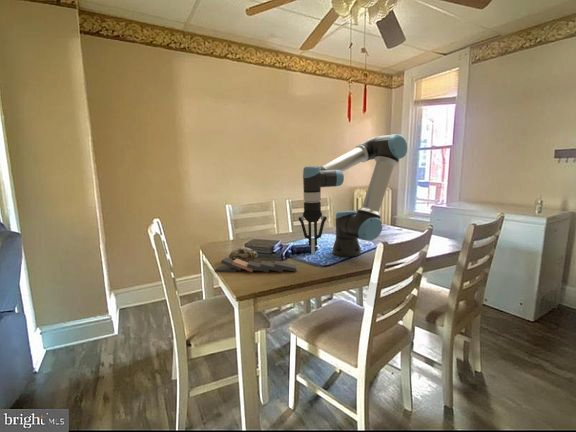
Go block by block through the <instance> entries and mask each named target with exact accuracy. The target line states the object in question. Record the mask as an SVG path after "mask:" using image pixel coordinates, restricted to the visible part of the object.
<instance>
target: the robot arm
mask: <svg viewBox="0 0 576 432" xmlns="http://www.w3.org/2000/svg"><path fill="white" fill-rule="evenodd" d="M408 150H409V149H408V142H407V140H406V138H405V137H404V136H403V135H401V134H400V133H398V134H397V133H396V134H388V135H387V134H386V135H379V136H373V137H371V138H369V139H367V140H365V141H364V142H361V143H359V144H358V145H356V146H355V148H354V149H352V150H350V151H348V152H346V153H344V154H342V155H340V156H338V157H336V158H334V159H332V160H330V161H328V162H327V163H324V164H323V165H320V166H316V165H315V166H311V165H310V166H305V167H303V170H302V172H303V173H302V178H303V179H302V181H303V183H302V184H303V201H304V202H303V213H302V215H301V216H298V219H297V220H298V221H299V222H300V225H301V229H302V232H303V235H304V239H308V246H309V247H311V249H310V251H311V255H313V254H315V253H316V249H315V248H316V247H317V246H318V240H319V239H320V238H322V234H323V230H324V226H325V222H326V221H327V216H325V215H323V213H322V211H321V210H322V207H321V206H322V204H321V203H322V202H321V200H322V199H321V196H322V195H321V188H333V187H340V186H342V185H343V183H344V181H345V177H344V176H345V175H344V173H343V172H345V171H346V170H349V169H350V168H352V167H354V166H356V165H359V164H360V163H366V162H368V161H372V160H374V161H375V165H374V169H373V171H372V175H371V178H370V181H369V185H368V188H367V190H366V194H365V196H364V200H363V202H362V206H361V207H360V208H359V209H358V208H357V210H342V211H337V212H336V213H335V240H334V244H333V246H332V254H333V255H335V256H338V257H345V258H346V257H348V258H351V257H356V256H360V255H361V254H362V252H361V251H362V250H361V249H362V248H361V246H360V242H359V240H358V239H360V240H363V241H368V242H369V241H374V240H375V239H378V237H380V236H381V233H382V231H383V225H382V224H383V222H382V221H381V218H382V216H381V214H380V210H381V207H382V204H383V201H384V198H385V194H386V191H387V188H388V184H389V183H390V182H389V181H390V178H391V176H392V172H393V170H394V167H396V166H398V164H399V161H400V160H401V159H403V158H404V157H406V155H407V153H408ZM320 219H321V221H320V225H319V230H318V222H319V220H320ZM304 220H305V221H307V223H308V231H307V229H306V226H305V222H304ZM312 223H313V235H314V236H313V237H314V238H313V237H312ZM307 232H308V233H307Z"/></svg>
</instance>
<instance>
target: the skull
mask: <svg viewBox="0 0 576 432" xmlns="http://www.w3.org/2000/svg"><path fill="white" fill-rule="evenodd" d="M257 257H258V252H257V251H256V250H255V249H252V248H249V247H246V246H245V247H239V248H235V249H232V251H231V252H230V253H229V255H228V258H230V259H232V260H236V259H240V260H242V261H245V262H247V263H249V261H252V262H254V261H255V260H256V258H257Z"/></svg>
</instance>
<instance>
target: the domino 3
mask: <svg viewBox="0 0 576 432" xmlns="http://www.w3.org/2000/svg"><path fill="white" fill-rule="evenodd" d="M232 265H234V266H237V267H240V268H242V270H245V271H247V272H250V273H253V272H254V271H256V270H255V269H251V268H247V266H248V263H247V262H245V261H242V260H240V259H236V260H234V261H233V263H232Z"/></svg>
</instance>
